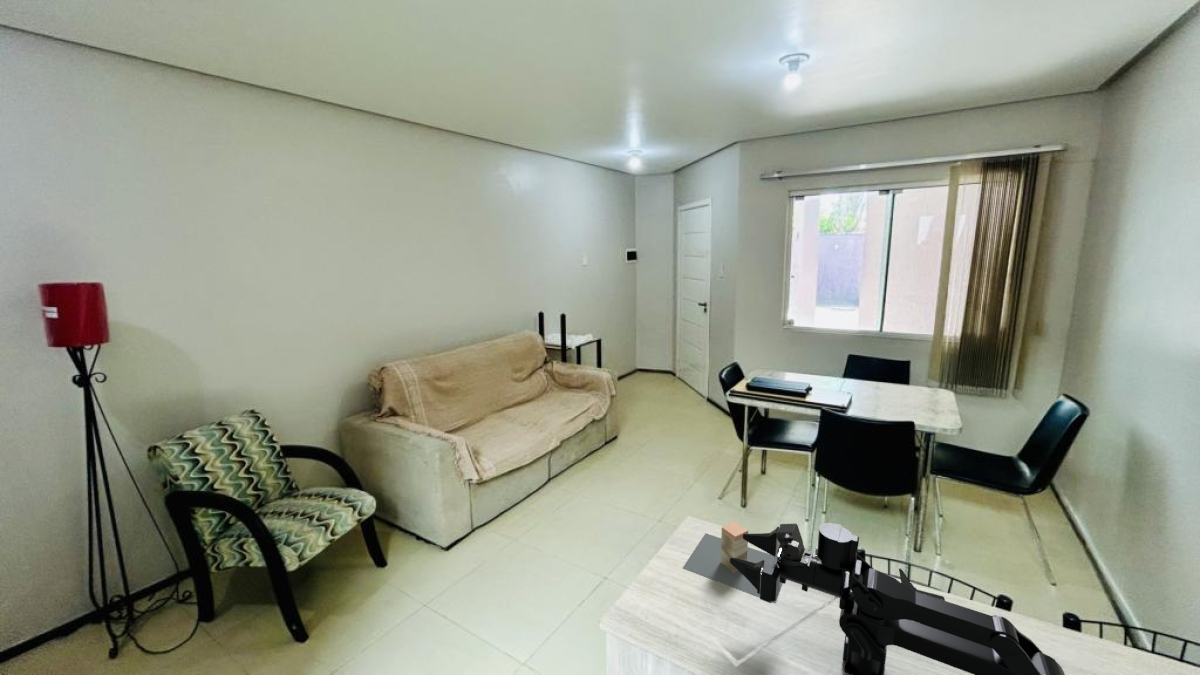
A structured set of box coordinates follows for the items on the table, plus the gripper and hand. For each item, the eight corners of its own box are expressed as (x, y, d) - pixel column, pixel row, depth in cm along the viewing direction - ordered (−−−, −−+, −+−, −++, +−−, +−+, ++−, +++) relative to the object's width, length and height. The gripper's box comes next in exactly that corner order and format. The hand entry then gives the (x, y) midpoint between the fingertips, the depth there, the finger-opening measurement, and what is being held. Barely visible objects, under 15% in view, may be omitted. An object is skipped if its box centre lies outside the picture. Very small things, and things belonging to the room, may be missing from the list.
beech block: (746, 565, 117) (748, 530, 115) (733, 572, 115) (735, 536, 113) (733, 555, 121) (734, 521, 119) (720, 562, 119) (721, 527, 117)
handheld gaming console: (966, 630, 96) (934, 587, 97) (932, 644, 98) (901, 602, 99) (944, 597, 107) (915, 559, 108) (914, 610, 109) (886, 572, 110)
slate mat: (790, 563, 119) (790, 560, 118) (775, 606, 105) (775, 603, 105) (705, 535, 131) (705, 533, 130) (682, 570, 117) (682, 568, 117)
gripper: (825, 513, 98) (750, 493, 106) (809, 565, 82) (723, 537, 91) (821, 559, 100) (748, 537, 108) (806, 619, 84) (722, 587, 93)
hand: (736, 547), depth 100 cm, fingers open, 9 cm apart
